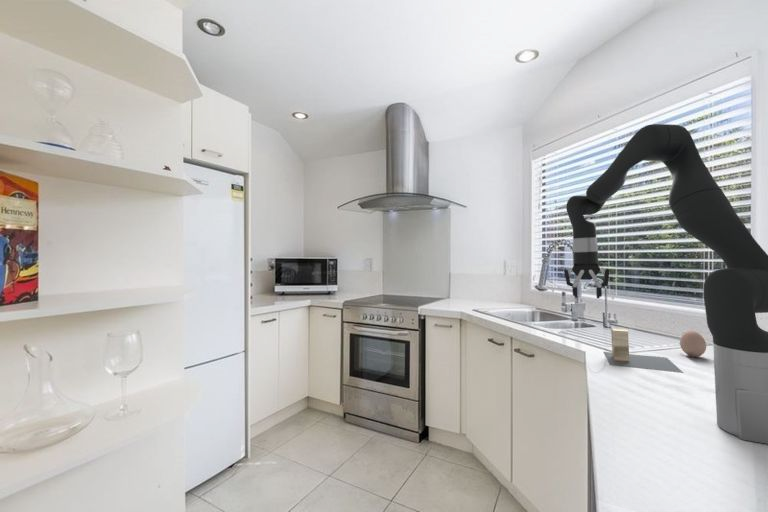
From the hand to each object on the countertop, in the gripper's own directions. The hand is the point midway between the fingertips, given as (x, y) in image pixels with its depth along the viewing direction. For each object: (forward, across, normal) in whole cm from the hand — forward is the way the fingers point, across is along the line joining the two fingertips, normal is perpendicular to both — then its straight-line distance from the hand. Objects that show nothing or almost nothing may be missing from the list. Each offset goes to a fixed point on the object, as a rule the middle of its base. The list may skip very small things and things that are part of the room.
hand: (587, 297), depth 112 cm
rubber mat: (+22, +14, 0) cm, 26 cm away
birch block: (+21, +9, 0) cm, 23 cm away
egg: (+22, +32, +16) cm, 42 cm away
